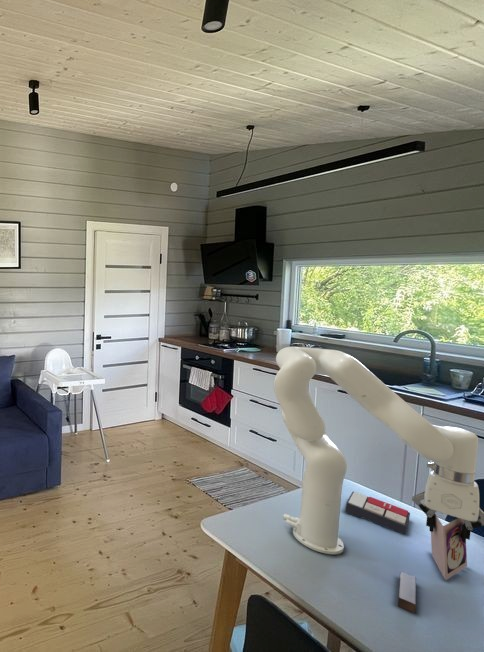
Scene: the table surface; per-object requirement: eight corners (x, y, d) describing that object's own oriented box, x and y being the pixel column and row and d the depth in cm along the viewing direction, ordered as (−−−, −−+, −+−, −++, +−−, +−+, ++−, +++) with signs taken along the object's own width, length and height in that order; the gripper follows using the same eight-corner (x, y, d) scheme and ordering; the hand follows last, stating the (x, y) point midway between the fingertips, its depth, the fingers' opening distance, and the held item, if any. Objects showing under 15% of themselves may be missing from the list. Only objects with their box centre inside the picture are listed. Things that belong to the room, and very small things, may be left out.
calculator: (406, 524, 125) (346, 500, 136) (404, 536, 126) (344, 512, 137) (410, 510, 132) (353, 489, 143) (408, 522, 133) (351, 499, 144)
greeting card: (450, 582, 107) (447, 528, 106) (414, 565, 114) (411, 514, 113) (471, 568, 111) (469, 515, 110) (435, 552, 118) (433, 503, 117)
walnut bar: (397, 606, 99) (398, 597, 99) (399, 579, 108) (400, 571, 107) (414, 613, 97) (415, 604, 97) (415, 585, 106) (416, 577, 105)
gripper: (409, 466, 113) (404, 526, 115) (504, 491, 101) (496, 557, 103) (410, 457, 118) (404, 515, 120) (500, 480, 106) (492, 543, 108)
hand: (446, 534), depth 111 cm, fingers closed on greeting card, 5 cm apart
